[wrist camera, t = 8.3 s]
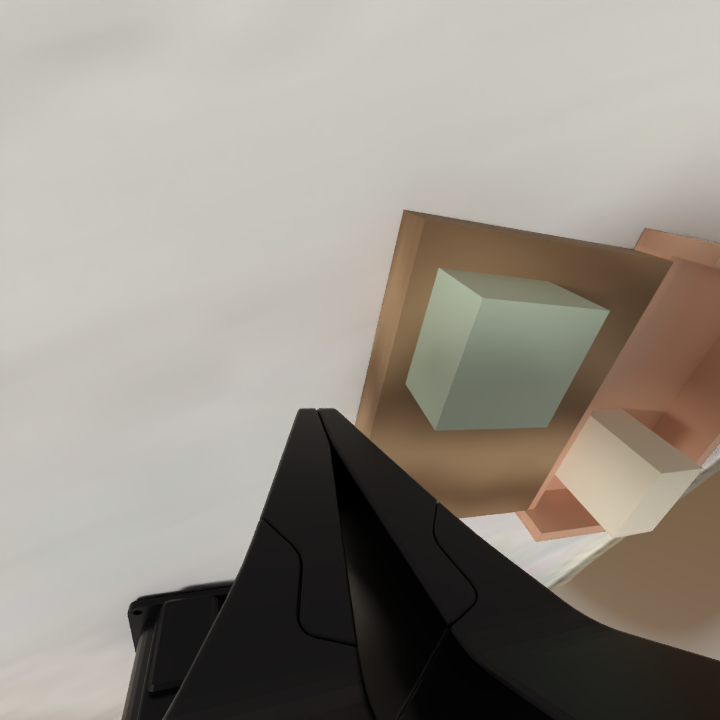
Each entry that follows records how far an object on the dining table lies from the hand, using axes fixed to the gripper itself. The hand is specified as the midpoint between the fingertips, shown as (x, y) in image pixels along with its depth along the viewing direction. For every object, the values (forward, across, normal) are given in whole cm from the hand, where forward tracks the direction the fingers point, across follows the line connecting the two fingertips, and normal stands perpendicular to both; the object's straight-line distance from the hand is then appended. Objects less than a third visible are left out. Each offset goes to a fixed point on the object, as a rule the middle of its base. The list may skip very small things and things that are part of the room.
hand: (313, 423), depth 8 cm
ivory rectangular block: (+4, -18, +8) cm, 20 cm away
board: (+7, -10, +4) cm, 13 cm away
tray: (+7, -21, +4) cm, 23 cm away
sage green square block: (+5, -8, 0) cm, 9 cm away
